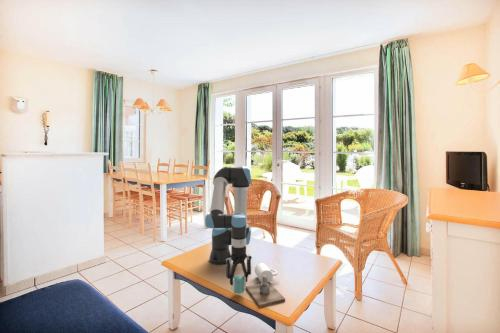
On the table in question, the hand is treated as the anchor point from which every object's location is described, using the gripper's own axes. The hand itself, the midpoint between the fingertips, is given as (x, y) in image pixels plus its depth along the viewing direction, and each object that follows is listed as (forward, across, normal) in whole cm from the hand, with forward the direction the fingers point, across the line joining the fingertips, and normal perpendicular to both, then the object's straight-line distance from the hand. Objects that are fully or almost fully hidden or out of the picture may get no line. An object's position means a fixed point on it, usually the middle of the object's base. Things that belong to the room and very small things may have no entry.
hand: (238, 289), depth 130 cm
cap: (+1, 0, 0) cm, 1 cm away
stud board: (+3, +13, -5) cm, 14 cm away
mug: (+4, +21, +9) cm, 23 cm away
